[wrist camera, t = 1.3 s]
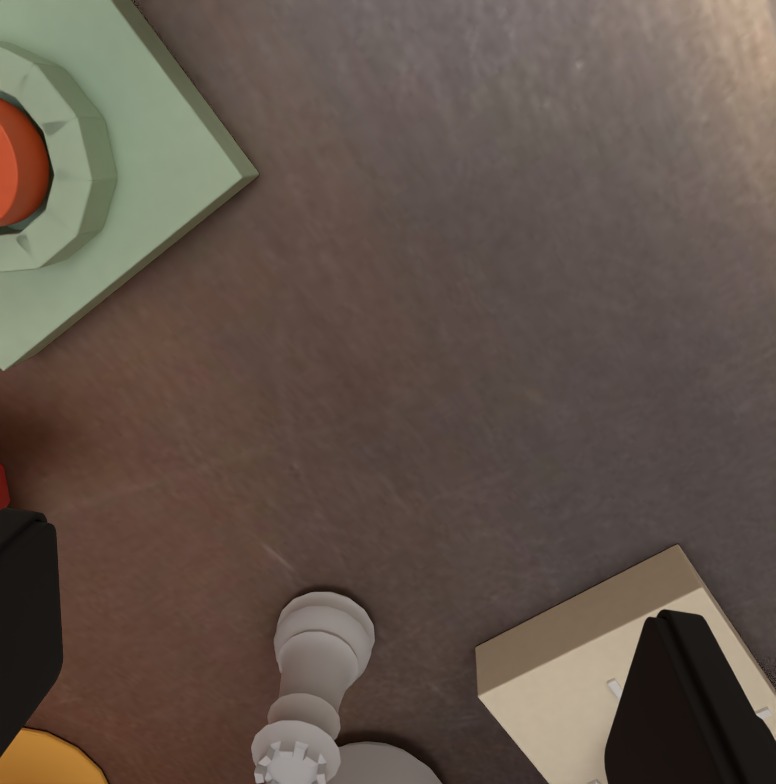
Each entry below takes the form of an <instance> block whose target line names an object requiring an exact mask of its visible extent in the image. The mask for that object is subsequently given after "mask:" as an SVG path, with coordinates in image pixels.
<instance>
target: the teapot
mask: <svg viewBox="0 0 776 784" xmlns="http://www.w3.org/2000/svg"><path fill="white" fill-rule="evenodd" d="M9 503H10V497H9V492H8V486H7V481H6V476H5V471H4V466H3V465H2V464H1V463H0V510H1V509H3V508H6V507H7V506H8V504H9Z"/></svg>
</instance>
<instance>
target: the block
mask: <svg viewBox="0 0 776 784" xmlns="http://www.w3.org/2000/svg"><path fill="white" fill-rule="evenodd" d="M0 98H2V99H3V100H5V101H7V102H9V103H10V104H12V105H13V106H15V107H16V108H17V109H18V110H20V111H21V112H22V113H23V114H24V115H25V116H26V117H27V118H28V119H29V120H30V122H31V123H32V124H33V126H34V127H35V129H36V130H37V132H38V134H39V135H40V137H41V139H42V142H43V144H44V146H45V149H46V153H47V157H48V162H49V183H48V188H47V191H46V194H45V197H44V199H43V201H42V203H41V204H40V206H39V207H38V208H37V210H36V211H35V212H34V213H33V214H32V215H30V216H29V217H28V218H26V219H24V220H22V221H21V222H18V223H15V224H11V225H6V226H1V227H0V368H1V370H3V371H6V370H7V369H9V368H11V367H13V366H15V365H17V364H19V363H21V362H23V361H25V360H27V359H29V358H31V357H32V356H34V355H36V354H37V353H39V352H40V351H41V350H42V349H44V348H45V347H46V346H47V345H49V344H50V343H51V342H52V341H54V340H55V339H56V338H57V337H59V336H60V335H61V334H62V333H64V332H65V331H66V330H67V329H68V328H70V327H71V326H72V325H73V324H75V323H76V322H77V321H78V320H80V319H81V318H82V317H83V316H85V315H86V314H87V313H88V312H90V311H91V310H92V309H93V308H95V307H96V306H97V305H98V304H100V303H101V302H102V301H103V300H105V299H106V298H107V297H108V296H110V295H111V294H112V293H113V292H114V291H116V290H117V289H118V288H119V287H121V286H122V285H123V284H124V283H126V282H127V281H128V280H129V279H131V278H132V277H133V276H134V275H136V274H137V273H138V272H139V271H141V270H142V269H143V268H144V267H146V266H147V265H148V264H149V263H151V262H152V261H153V260H154V259H156V258H157V257H158V256H159V255H161V254H162V253H163V252H164V251H165V250H167V249H168V248H169V247H170V246H172V245H173V244H174V243H175V242H177V241H178V240H179V239H180V238H182V237H183V236H184V235H185V234H187V233H188V232H189V231H190V230H192V229H193V228H194V227H195V226H197V225H198V224H199V223H200V222H202V221H203V220H204V219H205V218H207V217H208V216H209V215H210V214H212V213H213V212H214V211H215V210H216V209H218V208H219V207H220V206H221V205H223V204H224V203H225V202H226V201H228V200H229V199H230V198H231V197H233V196H234V195H235V194H236V193H238V192H239V191H240V190H241V189H243V188H244V187H245V186H246V185H248V184H249V183H250V182H251V181H253V180H254V179H255V178H256V177H258V176H259V173H258V172H257V170H256V169H255V167H254V166H253V165H252V163H251V162H250V161H249V159H248V158H247V157H246V155H245V154H244V152H243V151H242V150H241V148H240V147H239V146H238V144H237V143H236V142H235V140H234V139H233V138H232V136H231V135H230V133H229V132H228V131H227V129H226V128H225V127H224V125H223V124H222V123H221V121H220V120H219V119H218V117H217V116H216V114H215V113H214V112H213V110H212V109H211V108H210V106H209V105H208V104H207V102H206V101H205V100H204V98H203V97H202V95H201V94H200V93H199V91H198V90H197V89H196V87H195V86H194V85H193V83H192V82H191V81H190V79H189V78H188V76H187V75H186V74H185V72H184V71H183V70H182V68H181V67H180V66H179V64H178V63H177V62H176V60H175V59H174V57H173V56H172V55H171V53H170V52H169V51H168V49H167V48H166V47H165V45H164V44H163V43H162V41H161V40H160V38H159V37H158V36H157V34H156V33H155V32H154V30H153V29H152V28H151V26H150V25H149V24H148V22H147V21H146V19H145V18H144V17H143V15H142V14H141V13H140V11H139V10H138V9H137V7H136V6H135V5H134V3H133V2H132V0H0Z"/></svg>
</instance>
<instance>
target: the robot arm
mask: <svg viewBox="0 0 776 784" xmlns="http://www.w3.org/2000/svg"><path fill="white" fill-rule="evenodd" d="M62 663H63V645H62V627H61V609H60V592H59V574H58V556H57V538H56V529H55V527H54V525H52V524H49V523H47V519H46V517H45V515H44V514H42V513H39V512H33V511H26V510H20V509H13V508H3V509H1V510H0V758H1V756H2V755H3V754H4V752H5V751H6V749H7V748H8V747H9V745H10V744H11V743H12V741H13V740H14V738H15V737H16V736H17V734H18V733H19V732H20V730H21V729H22V727H23V726H24V725H25V723H26V722H27V720H28V719H29V718H30V716H31V715H32V714H33V712H34V711H35V709H36V708H37V707H38V705H39V704H40V703H41V701H42V700H43V698H44V697H45V696H46V694H47V693H48V692H49V690H50V689H51V687H52V686H53V685H54V683H55V682H56V680H57V678H58V676H59V674H60V671H61V668H62ZM604 765H605V772H606V777H607V781H608V784H776V740H775V739H774V737H773V735H772V733H771V731H770V729H769V728H768V726H767V725H766V724H765V722H764V721H763V719H761V718H760V717H758V716H757V715H756V713H755V711H754V710H753V708H752V706H751V704H750V702H749V700H748V698H747V696H746V695H745V693H744V691H743V689H742V687H741V685H740V683H739V681H738V680H737V678H736V676H735V674H734V672H733V670H732V668H731V666H730V665H729V663H728V661H727V659H726V657H725V655H724V653H723V651H722V650H721V648H720V646H719V644H718V642H717V640H716V638H715V636H714V635H713V633H712V631H711V629H710V627H709V625H708V623H707V621H706V620H705V619H704V617H703V616H701V615H699V614H693V613H687V612H680V611H674V610H667V609H663V610H661V611H660V612H659V613H658V614H657V617H648V618H647V619H646V620H645V622H644V625H643V628H642V631H641V634H640V637H639V641H638V644H637V647H636V650H635V653H634V657H633V660H632V663H631V666H630V669H629V673H628V676H627V679H626V682H625V685H624V689H623V692H622V695H621V698H620V701H619V705H618V708H617V711H616V714H615V717H614V721H613V724H612V727H611V730H610V733H609V737H608V740H607V743H606V747H605V754H604Z"/></svg>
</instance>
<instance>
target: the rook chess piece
mask: <svg viewBox="0 0 776 784" xmlns="http://www.w3.org/2000/svg"><path fill="white" fill-rule="evenodd" d="M374 642H375V636H374V626H373V623H372V622H371V620H370V618H369V617H368V615H367V613H366V612H365V610H364V609H363V608H361V607H360V606H359V605H357V604H356V603H355V602H354V601H352V600H351V599H350V598H348V597H347V596H344V595H341V594H338V593H334V592H311V593H308V594H305V595H303V596H300V597H297V598H295V599H293V600H292V601H291V602H290V603H289V604H288V605H287V606H286V607H285V608H284V609H283V610H282V612H281V615H280V618H279V621H278V624H277V631H276V634H275V637H274V648H275V654H276V660H277V662H278V663H279V670H280V672H281V674H282V675H281V683H280V691H279V698H278V700H277V701H276V702H275V703H274V704H272V705H271V707H270V710H269V713H268V716H267V717H268V723H269V724H268V725H267V726H265V727H264V728H263V729H262V730H261V731H260V732H259V733H257V734H256V735H255V738H254V741H253V744H252V747H251V751H252V756H253V761H254V763H255V765H256V769H255V772H254V774H255V779H256V783H263V782H264V780H266V784H326V782H328V781H329V780H330V779H331V778H333V777H334V776H335V775H336V773H337V771H338V768H339V766H340V763H341V760H340V752H339V748H338V747H337V745H336V744H335V742H334V740H335V739H336V738H337V736H338V733H339V731H340V729H341V727H340V719H339V716H338V711H339V706H340V703H341V700H342V698H343V695H344V692H345V690H346V689H347V688H349V687H350V686H351V685H352V684H353V683H354V681H355V680H356V679H357V678H359V677H360V676H361V675H362V674H363V672H364V670H365V669H366V666H367V664H368V661H369V659H370V657H371V649H372V647H373V645H374Z"/></svg>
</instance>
